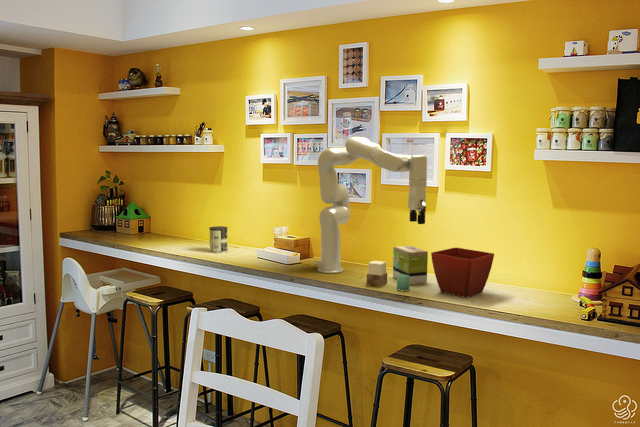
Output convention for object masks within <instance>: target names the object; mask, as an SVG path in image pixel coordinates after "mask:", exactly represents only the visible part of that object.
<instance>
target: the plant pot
mask: <svg viewBox="0 0 640 427" xmlns="http://www.w3.org/2000/svg"><path fill="white" fill-rule="evenodd" d="M430 256H431V263H432V267H433V271H434V276H435V280H436V281H437V282H436V283H437V286H438V289H439V290H440V292H441V293H444V292H446V293H445V294H448V293H450V295H452V294H455V295H454V296H457V295H459V296H458V297H461V296H463V297H462V298H469V296H470V297H472V295H473V296H475V295H478V294H482V292H483V291H484V289H485V286H486V285H487V284H486V283H487V282H488V279H489V276H490V273H491V270H492V266H493V262H494V257H495V253H493V252H489V251H481V250H475V249H468V248H463V247H450V248H447V249H442V250H438V251H437V250H436V251H433V252H431V255H430Z"/></svg>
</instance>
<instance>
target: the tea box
mask: <svg viewBox="0 0 640 427" xmlns="http://www.w3.org/2000/svg"><path fill="white" fill-rule="evenodd" d="M392 249H393V252H392V254H393V255H392V256H393V257H392V278H394V279H397V275H400V274H405V275H409V276H410V280H409V285H414V284H413V283H420V284H426V283H428V261H429V260H428V259H429V257H428V253H429V252H428V250H424V249H421V248H420V247H419V248H418V247H416V246H413V245H403V246H393V248H392Z"/></svg>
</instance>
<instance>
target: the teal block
mask: <svg viewBox="0 0 640 427" xmlns="http://www.w3.org/2000/svg"><path fill="white" fill-rule="evenodd" d="M409 280H410V276H409V275H405V274H400V275H397V278H396V290H397V289H400V290H408V289H409V290H410V284H409Z"/></svg>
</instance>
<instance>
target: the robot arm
mask: <svg viewBox="0 0 640 427" xmlns="http://www.w3.org/2000/svg"><path fill="white" fill-rule="evenodd" d="M359 159H363V160H365V161H368V162H370V163H372V164H373V165H376V166H377V167H379V168H382V169H384V170H386V171H390V172H392V173H400V172H401V173H405V172H408V174H409V175H408V187H409V188H408V196H407V197H408V198H407V200H408V201H407V207H408V209H409V222H412V223H413V222H417V224H418V225H425V224H426V214H427V213H426V212H427V209H426V208H427V197H426V196H427V195H426V194H427V193H426V188H427V182H428V180H427V176H428V174H427V173H428V169H427V168H428V166H427V165H428V158H427V156H426V155H425V154H424V155H423V154H414V155H413V154H412V155H410V154H395V153H392V152H389V151H386V150H384V149H382V147H381V145H380V144H378V143H375V142H372V141H371V140H369V138H367V137H363V136H351V137H348V138H347V140H346V141H345V144H344V147H340V146H339V147H338V146H336V147H334V146H332V147H328V148H326V149H324V150H323V151H322V152H321V153H320V154H319V155H318V158H317V169H318V175H319V190H320V191H319V192H320V199H321V201H322V202H323V203H325V204H331V205H332V206H326V207H324V208H323V209H321V211H320V213H319V217H318V218H319V225H320V260H314V261H313V265H314V266H318V268H317V272H319V273H323V274H338V273H343V272H344V267H341V246H342V245H341V243H342V240H341V239H342V238H341V236H342V235H341V229H340V227H339V226H340V225H344V224H346V223H348V222H349V220H350V217H351V206H350V194H349V193H350V192H349V190H348V188H347V186H346V185H344V184H342V183H340V182H339V183H338V176H337V175H338V174H337V171H336V169H335V166H346V165H350V164H352V163H354V162H356V161H357V160H359Z"/></svg>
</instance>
